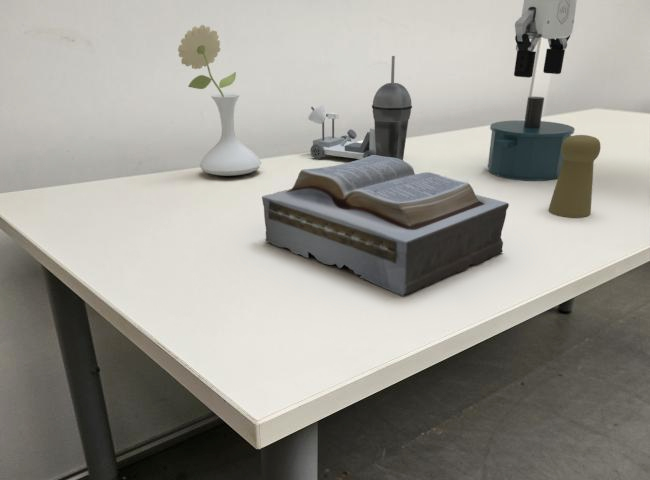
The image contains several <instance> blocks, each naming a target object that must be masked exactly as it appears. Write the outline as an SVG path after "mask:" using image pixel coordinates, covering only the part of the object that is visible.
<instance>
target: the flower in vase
mask: <svg viewBox="0 0 650 480" xmlns="http://www.w3.org/2000/svg"><path fill="white" fill-rule="evenodd" d="M180 43H181V44H180V45H178V48H177V52H178V57H179V58H181V64H182V65H185V66H186V67H190V66H191V68H192V69H193V70H194V69H195V70H198V69H199V70H200V69H203V67H207V71H208V75H209V76H207V75H204V74H199V75H197V76H196V77H194V78H193V79H192V80H191V81H190V83H189V84H188V88H192V89H197V90H204V89H206V88H207V87H208V86H210V83H211V82H212V83H213V84H214V86H215V88H217V90H218V93H215V94H211V95H210V97H211V98H212V100H213V101H214V102H215V104H216V106H217V109H218V113H219V117H220V125H221V135H220V138H219V140H218V142H217V143H216V144H215V145H214V146H212V148H211V149H210V150H209V151H207V153H206V154H205V155H203V157H202V158H201V160H200V161H199V167H200V169H201V170H202V171H203V172H205V173H208V174H210V175H214V176H223V177H225V176H226V177H228V176H229V177H231V176H232V177H234V176H241V175H246V174H250V173H253V172H254V171H257V170H258V169H259V168H260V167H261V165H262V162H261V159H260V157H259V156H258V155H257V154H256V153H255V152H253V151H252V150H251V149H250V148H248V147H247V146H245V145H244V144H243V143H242V142H241V141H240V140H239V139H238V137H237V135H236V132H235V125H234V123H235V121H234V118H235V117H234V116H235V115H234V114H235V107H236V103H237V101H238V99H239V98H240V94H239V93H223V91H222V90H221V89H223V88H226V87H228V86H231V85H233V83H234V82H235V80H236V77H237V71H234V72H233V73H232V74H230V75H228V76H226V77H223V78H222V79H220V81H219V83H217V82H216V81H215V80H214V77H213V76H212V73H211V69H210V65H209V64H213V63H214V62H215V61H216V59H215V58H217V57H218V55H219V53H220V51H221V47H220V45H221V44H220V43H221V41H220V40H219V34H218V31H217V30H214V29H213V30H211V27H210V26H205V25H204V24H201V25H200V26H199V27H197V26H195V25H194V26H193V27H192V29H191V30H187V32H186V33H185V34H184V37H183V38H181V40H180ZM218 84H219V85H218Z"/></svg>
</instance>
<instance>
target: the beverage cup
mask: <svg viewBox="0 0 650 480" xmlns="http://www.w3.org/2000/svg"><path fill="white" fill-rule="evenodd" d="M395 60H396V55H392V56H391V66H390V67H391V68H390V71H391V72H390V82H387V83H385V84H383V85H382V86H380V87H379V88H378V90H377V91H376V92H375V94H374V96H373V100H372V105H371V109H372V116H373V121H374V127H375V143H376V155H377V156H383V157H392V158H397V159H400V160H403V161H404V157H405V156H404V155H405V149H406V148H405V147H406V141H407V134H408V126H409V121H410V117H411V112H412V109H413V105H412V98H411V95H410V93H409V91H408V89H407V88H406V87H405V86H404V85H403V84H401V83H399V82H395V66H396V65H395V64H396V63H395V62H396V61H395Z"/></svg>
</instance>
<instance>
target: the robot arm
mask: <svg viewBox="0 0 650 480" xmlns="http://www.w3.org/2000/svg"><path fill="white" fill-rule="evenodd" d="M577 1H578V0H523V3H522V10H521V16H520V17H519V18H518V19H517V20H516V21H515V23H514V30H515V36H514V39H515V43H516V46H515V51H516V57H515V64H514V72H513V76H514V77H517V78H526V79H527V78H532V77H533V76H534V75H533V74H534V67H535V61H536V56H537V51H535V49H536V46H537V45H538V43H539V41H540V39H541V38H543V39H547V42H548V46H549V48H546V52H545V59H544V64H543V69H542V71H543V74H550V75H551V74H552V75H560V74H562V71H563V70H562V69H563V64H564V58H565V53H566V49H567V47H568V41H569V39H570V37H571V36H572V34H573V31H574V30H573V29H574V24H575V16H576V10H577Z"/></svg>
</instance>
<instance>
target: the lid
mask: <svg viewBox="0 0 650 480" xmlns="http://www.w3.org/2000/svg"><path fill="white" fill-rule="evenodd" d="M544 104H545V97H543V96H528V97H527V101H526V107H525V115H524V119H521V120H520V119H519V120H518V119H517V120H516V119H515V120H502V121H496V122H493V123H491V124H490V126H489V129H490V131H491V132H492V131H494V132H496V133H500V134H505V135H511V136H520V137H538V138H547V137H562V136H568V135H571V136H572V135H574V134H575V130H576V129H575V127H574V126H571V125H568V124H565V123H560V122H553V121H546V120H542V117H543V110H544Z"/></svg>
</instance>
